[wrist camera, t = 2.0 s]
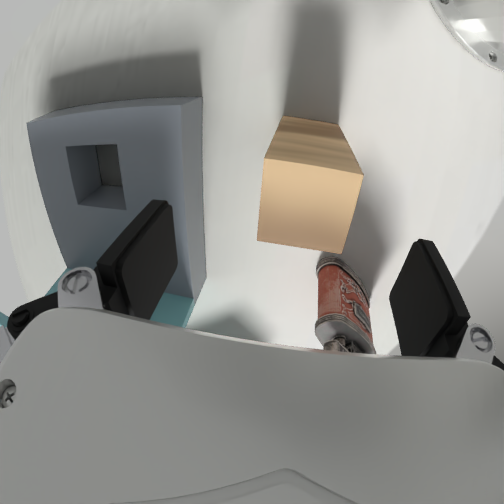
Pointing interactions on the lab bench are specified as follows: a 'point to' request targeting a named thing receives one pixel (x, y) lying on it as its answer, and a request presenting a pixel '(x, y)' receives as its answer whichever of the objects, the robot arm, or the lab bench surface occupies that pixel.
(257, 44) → the lab bench surface
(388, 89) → the lab bench surface
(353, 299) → the lighter
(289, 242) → the peg
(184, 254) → the socket block
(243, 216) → the lab bench surface
